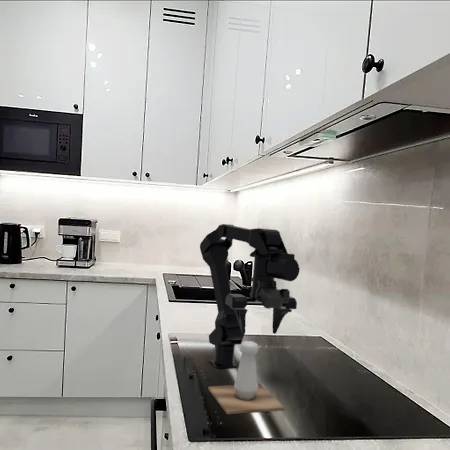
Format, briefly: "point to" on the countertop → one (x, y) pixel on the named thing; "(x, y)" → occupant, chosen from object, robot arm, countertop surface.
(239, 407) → the walnut board
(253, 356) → the salt shaker
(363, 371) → the countertop surface
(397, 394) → the countertop surface
